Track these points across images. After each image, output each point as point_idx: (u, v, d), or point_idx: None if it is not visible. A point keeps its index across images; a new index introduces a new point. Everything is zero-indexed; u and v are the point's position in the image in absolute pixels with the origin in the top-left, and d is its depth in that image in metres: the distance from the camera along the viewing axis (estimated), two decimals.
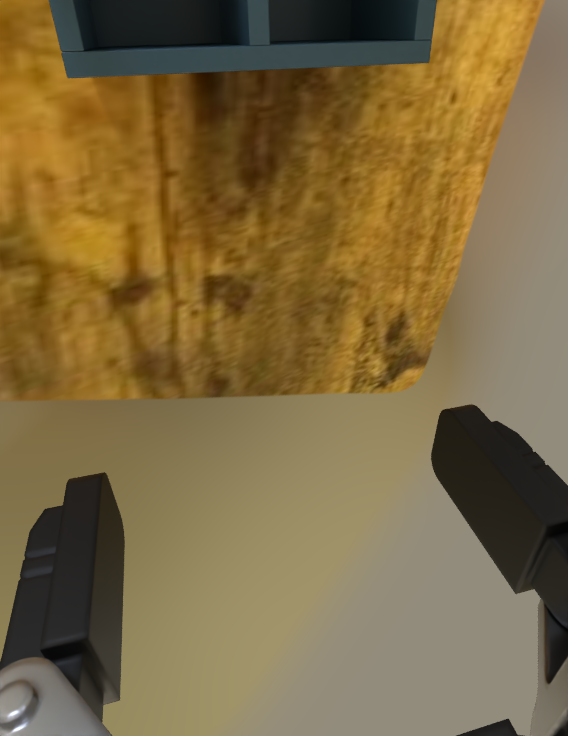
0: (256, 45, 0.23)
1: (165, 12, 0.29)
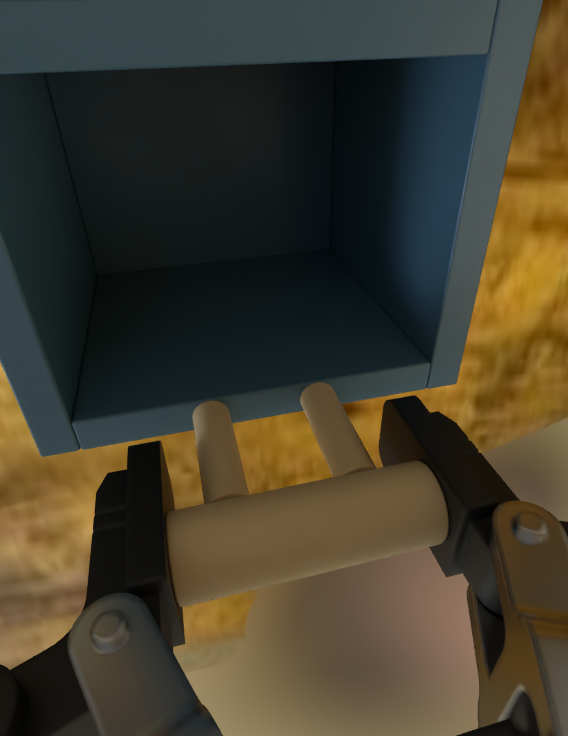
0: (491, 35, 0.10)
1: (293, 149, 0.19)
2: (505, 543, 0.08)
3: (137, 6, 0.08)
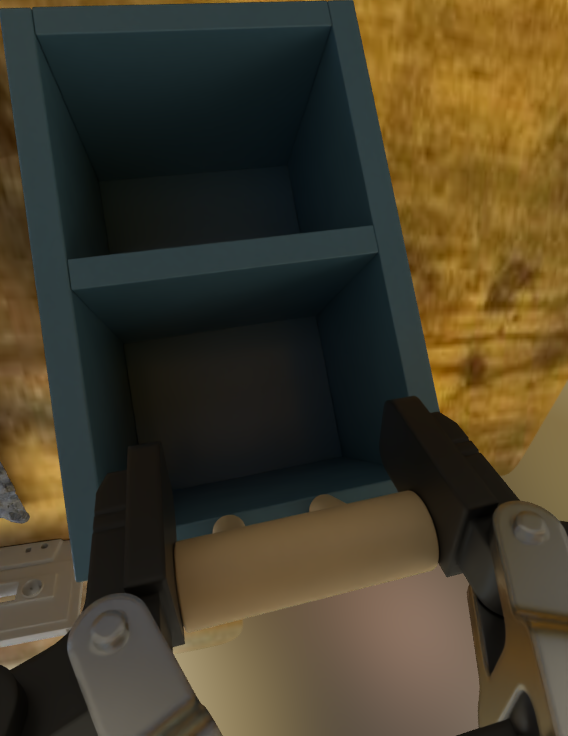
0: (376, 243, 0.16)
1: (297, 381, 0.25)
2: (505, 543, 0.08)
3: (175, 250, 0.15)
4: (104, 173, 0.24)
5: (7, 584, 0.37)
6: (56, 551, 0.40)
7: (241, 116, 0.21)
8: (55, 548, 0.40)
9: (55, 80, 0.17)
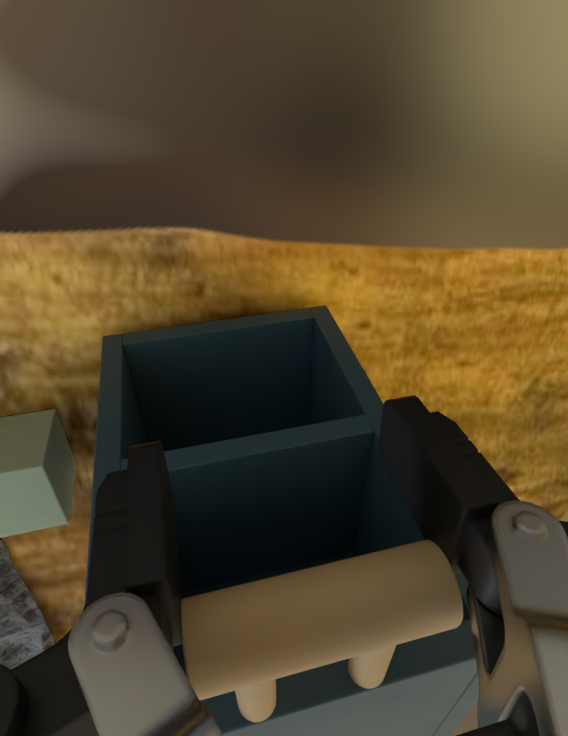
0: (371, 425, 0.20)
1: None
2: (505, 543, 0.08)
3: (206, 445, 0.19)
4: None
5: None
6: None
7: (263, 392, 0.28)
8: None
9: (131, 375, 0.25)
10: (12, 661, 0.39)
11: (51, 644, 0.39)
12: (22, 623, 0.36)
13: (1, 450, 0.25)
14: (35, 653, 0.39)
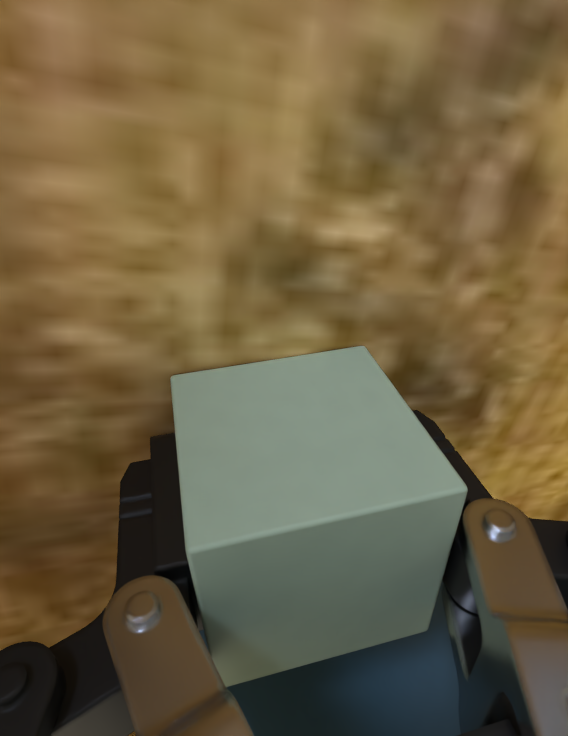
0: None
1: None
2: (477, 543, 0.08)
3: None
4: None
5: None
6: None
7: None
8: None
9: None
10: None
11: None
12: None
13: None
14: None
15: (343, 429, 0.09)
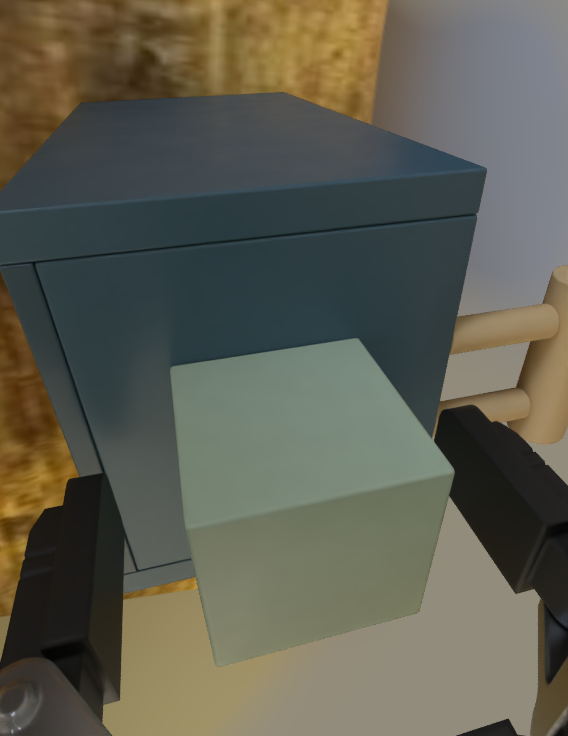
0: None
1: None
2: None
3: None
4: None
5: None
6: None
7: None
8: None
9: None
10: None
11: None
12: None
13: None
14: None
15: (336, 417, 0.09)
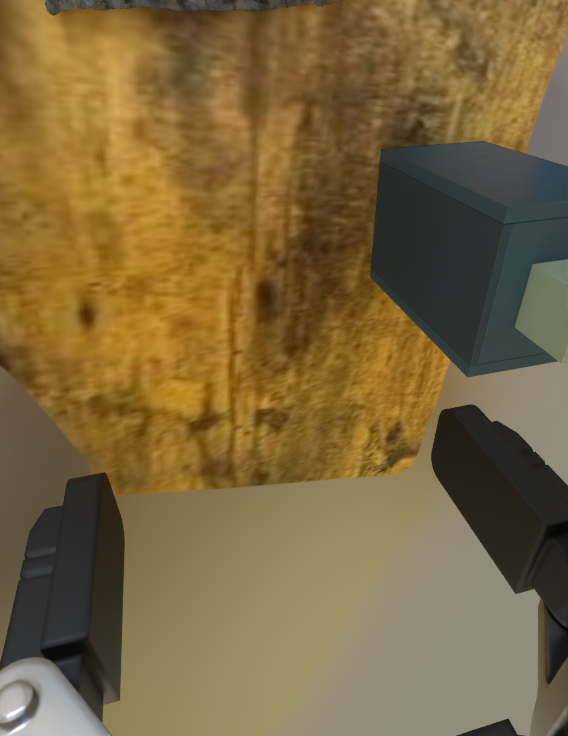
0: None
1: None
2: None
3: None
4: None
5: None
6: None
7: None
8: None
9: None
10: None
11: (159, 2, 0.32)
12: None
13: None
14: None
15: None
